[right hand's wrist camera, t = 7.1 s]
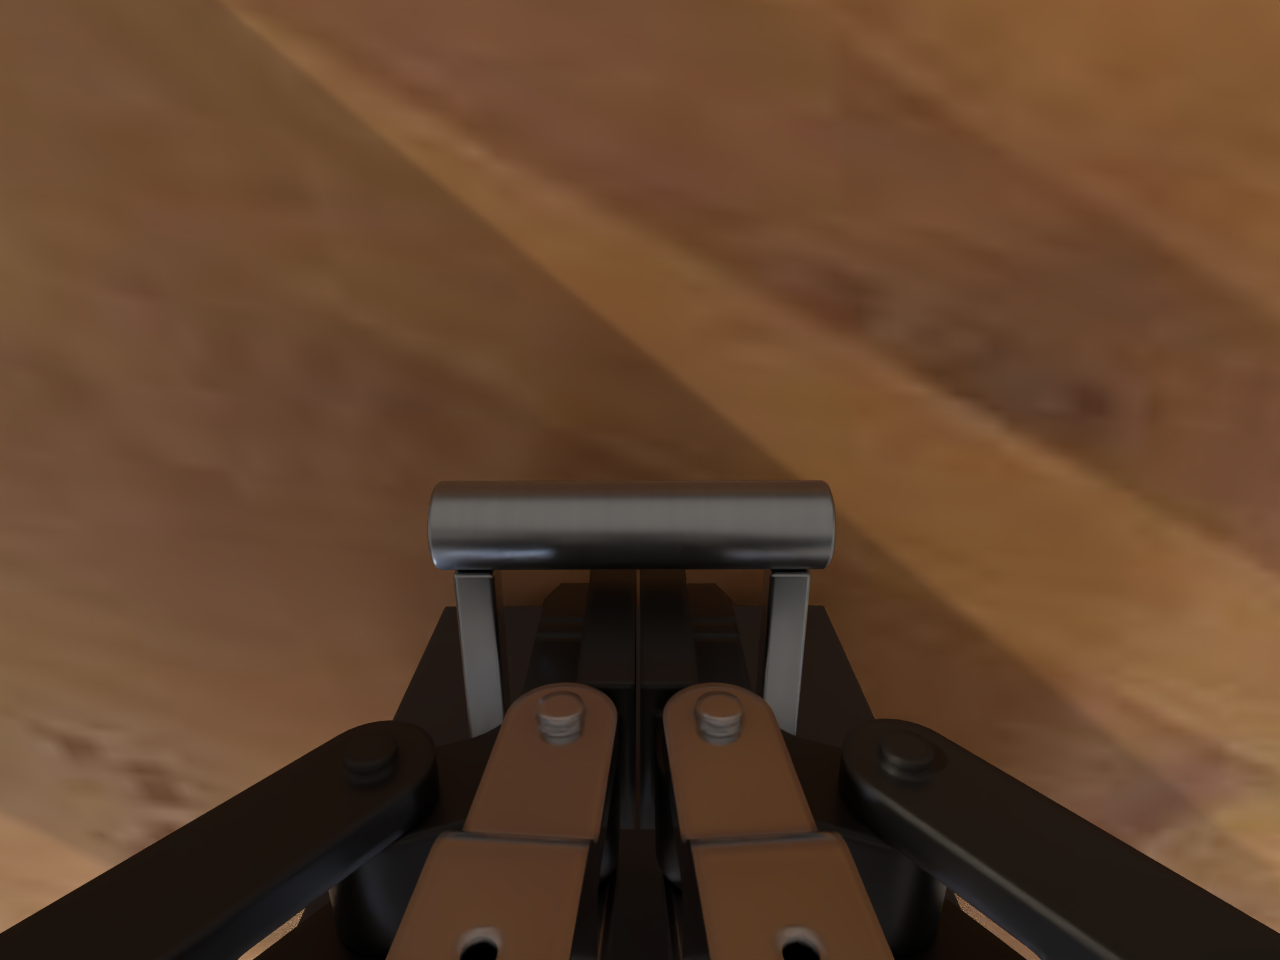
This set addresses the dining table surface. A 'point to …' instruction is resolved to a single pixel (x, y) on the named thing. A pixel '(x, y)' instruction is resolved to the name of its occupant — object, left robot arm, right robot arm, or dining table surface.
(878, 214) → the dining table surface
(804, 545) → the drawer
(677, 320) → the dining table surface
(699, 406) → the dining table surface
